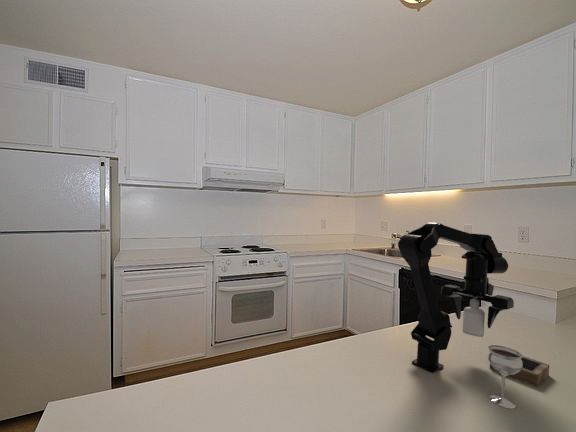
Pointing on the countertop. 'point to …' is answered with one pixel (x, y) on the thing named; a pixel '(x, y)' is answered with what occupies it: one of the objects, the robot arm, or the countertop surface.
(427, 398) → the countertop surface
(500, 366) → the wineglass
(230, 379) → the countertop surface
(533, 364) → the rubber-lined collar
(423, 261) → the robot arm
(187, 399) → the countertop surface
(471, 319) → the eye dropper bottle
